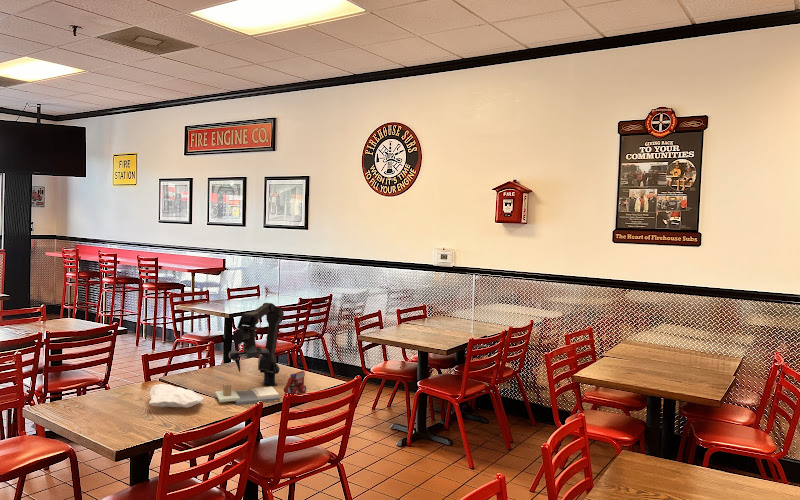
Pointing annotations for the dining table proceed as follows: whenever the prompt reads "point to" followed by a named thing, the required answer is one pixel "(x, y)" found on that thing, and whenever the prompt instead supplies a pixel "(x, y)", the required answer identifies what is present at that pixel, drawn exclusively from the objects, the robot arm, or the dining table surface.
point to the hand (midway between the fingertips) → (249, 371)
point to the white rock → (173, 396)
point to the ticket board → (257, 395)
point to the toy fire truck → (296, 383)
